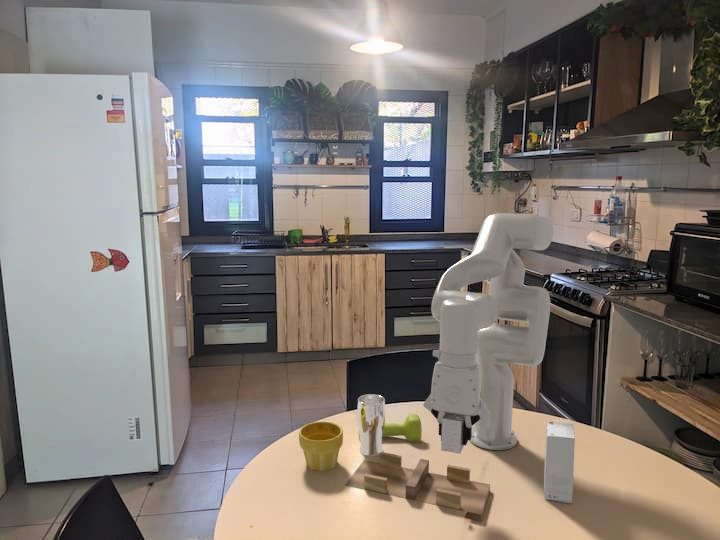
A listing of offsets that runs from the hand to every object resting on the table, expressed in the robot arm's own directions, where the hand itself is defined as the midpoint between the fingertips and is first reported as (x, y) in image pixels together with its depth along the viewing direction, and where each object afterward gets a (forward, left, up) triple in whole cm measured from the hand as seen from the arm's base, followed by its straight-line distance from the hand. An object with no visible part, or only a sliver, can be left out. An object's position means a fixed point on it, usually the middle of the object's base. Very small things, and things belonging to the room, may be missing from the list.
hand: (454, 439), depth 120 cm
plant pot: (-1, -32, -14) cm, 35 cm away
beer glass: (-11, -23, -14) cm, 29 cm away
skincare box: (-11, +21, -14) cm, 28 cm away
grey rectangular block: (0, 0, -1) cm, 1 cm away
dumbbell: (-20, -21, -14) cm, 32 cm away
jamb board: (0, -8, -14) cm, 16 cm away
